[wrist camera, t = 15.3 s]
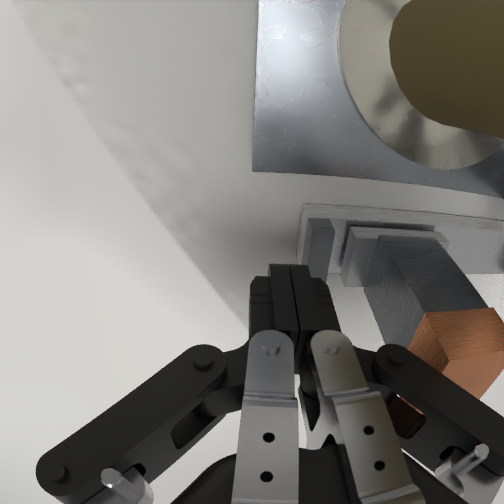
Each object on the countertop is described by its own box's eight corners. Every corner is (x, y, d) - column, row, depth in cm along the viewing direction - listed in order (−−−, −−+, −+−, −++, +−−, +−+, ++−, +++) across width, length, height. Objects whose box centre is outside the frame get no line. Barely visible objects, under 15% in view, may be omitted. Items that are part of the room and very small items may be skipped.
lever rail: (296, 256, 17) (303, 288, 15) (302, 203, 15) (311, 230, 13) (502, 260, 17) (522, 284, 15) (517, 222, 16) (540, 244, 14)
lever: (338, 278, 16) (384, 423, 9) (351, 220, 14) (423, 365, 7) (424, 278, 16) (490, 399, 9) (442, 226, 14) (533, 343, 7)
